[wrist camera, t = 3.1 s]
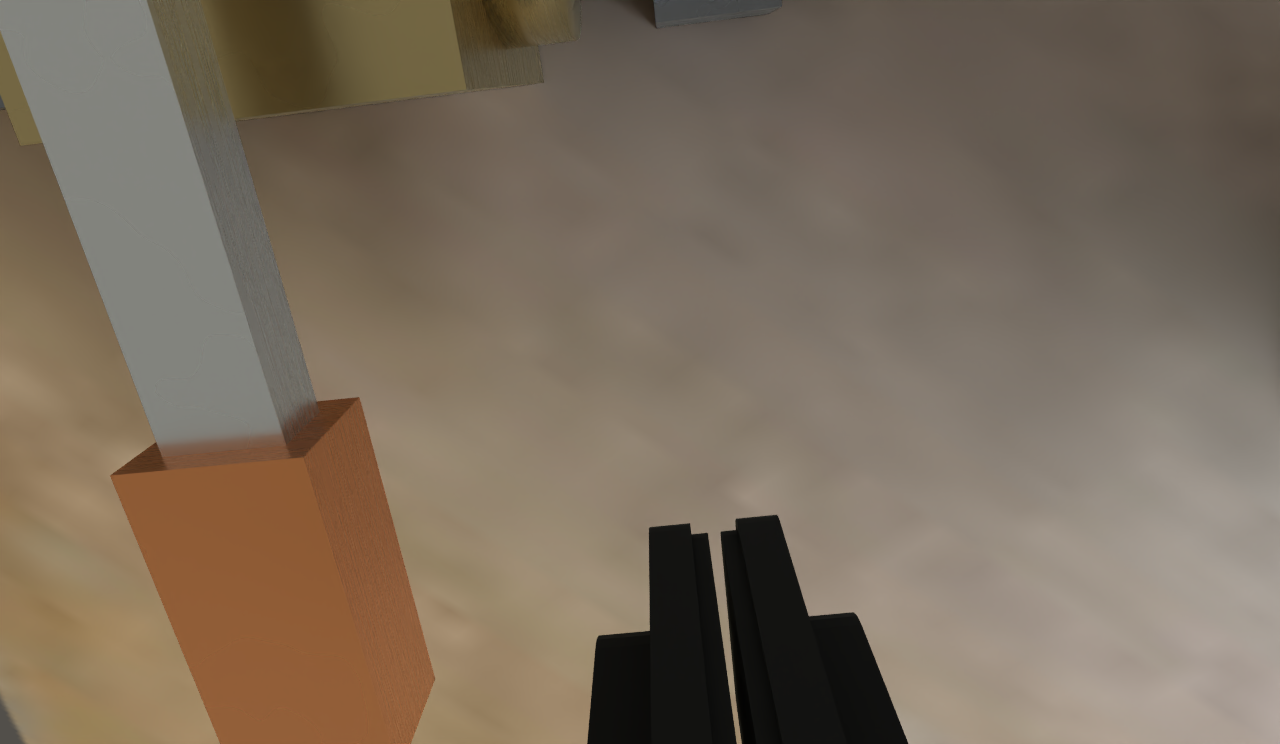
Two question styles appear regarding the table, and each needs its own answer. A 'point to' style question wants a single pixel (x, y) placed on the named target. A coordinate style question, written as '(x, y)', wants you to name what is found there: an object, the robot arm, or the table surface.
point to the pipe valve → (380, 49)
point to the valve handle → (222, 389)
